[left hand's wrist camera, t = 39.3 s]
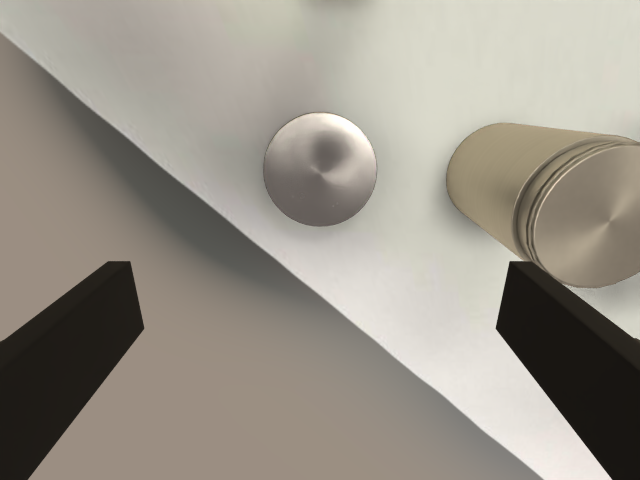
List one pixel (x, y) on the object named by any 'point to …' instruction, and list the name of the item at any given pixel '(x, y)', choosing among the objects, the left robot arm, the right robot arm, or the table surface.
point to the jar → (554, 198)
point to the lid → (320, 169)
